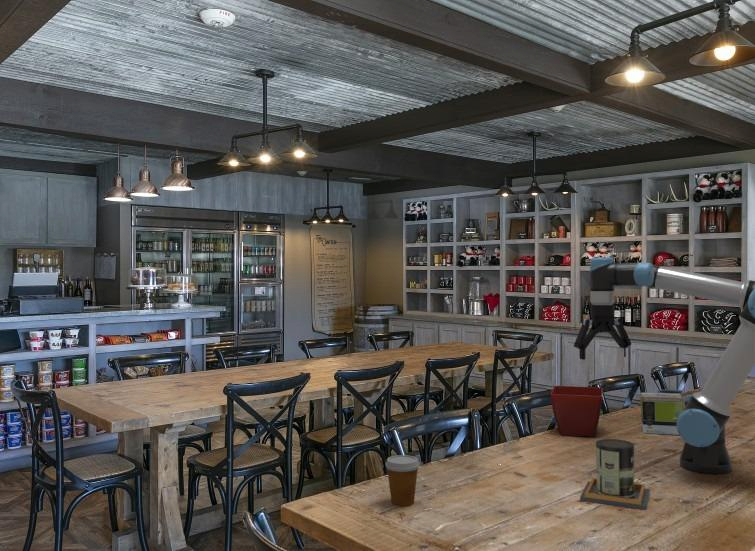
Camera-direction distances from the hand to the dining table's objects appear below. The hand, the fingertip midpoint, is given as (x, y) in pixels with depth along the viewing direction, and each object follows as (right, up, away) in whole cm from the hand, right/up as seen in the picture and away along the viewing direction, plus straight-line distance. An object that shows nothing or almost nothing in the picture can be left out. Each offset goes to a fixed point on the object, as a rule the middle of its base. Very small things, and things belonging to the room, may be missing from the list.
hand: (602, 368), depth 216 cm
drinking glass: (+51, -31, +64) cm, 88 cm away
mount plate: (-7, -32, -31) cm, 45 cm away
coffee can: (-7, -31, -31) cm, 44 cm away
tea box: (+38, -31, +43) cm, 65 cm away
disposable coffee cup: (-67, -33, -33) cm, 82 cm away
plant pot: (+5, -32, +43) cm, 53 cm away
